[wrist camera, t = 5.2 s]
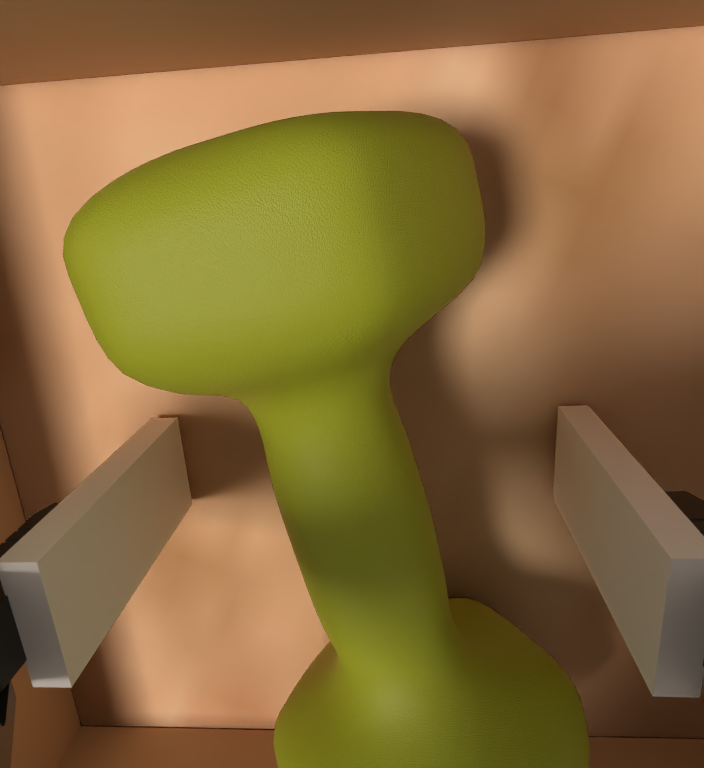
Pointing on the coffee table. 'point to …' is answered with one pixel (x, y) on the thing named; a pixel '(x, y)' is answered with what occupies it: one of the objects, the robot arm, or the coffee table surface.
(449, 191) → the dumbbell
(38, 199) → the coffee table surface
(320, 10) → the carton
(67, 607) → the robot arm
